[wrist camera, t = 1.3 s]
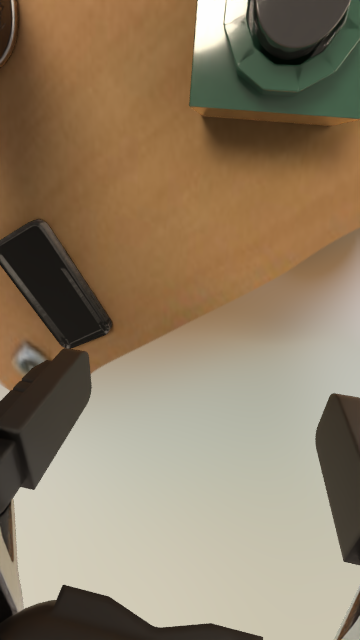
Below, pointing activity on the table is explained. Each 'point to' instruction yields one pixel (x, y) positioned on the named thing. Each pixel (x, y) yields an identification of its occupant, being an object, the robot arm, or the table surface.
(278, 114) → the dispenser
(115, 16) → the table surface
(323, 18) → the dark push button
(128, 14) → the table surface
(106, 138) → the table surface
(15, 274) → the phone
